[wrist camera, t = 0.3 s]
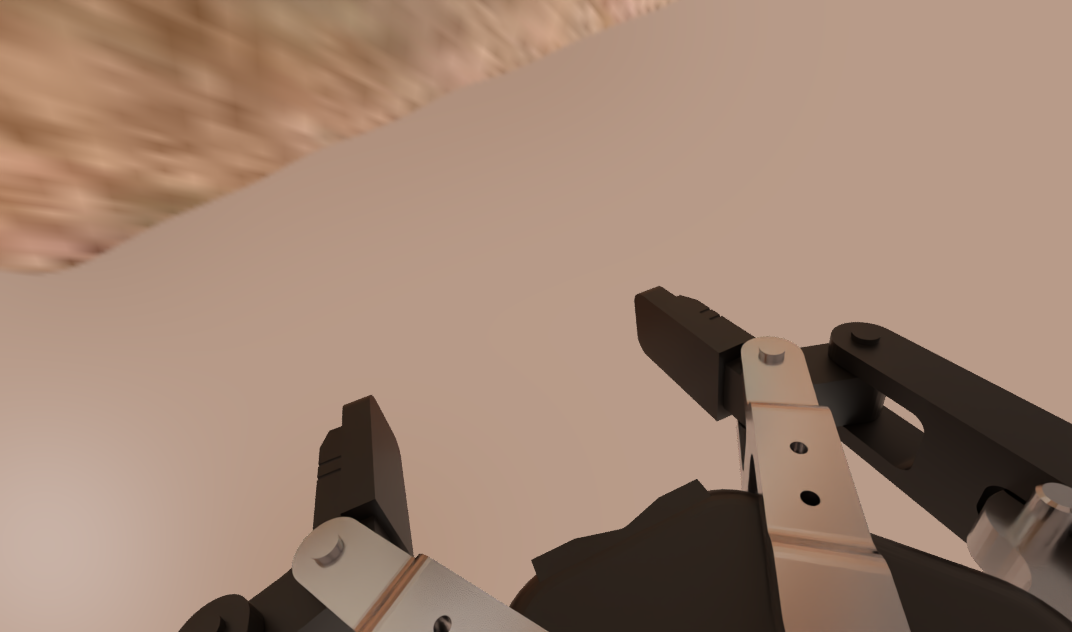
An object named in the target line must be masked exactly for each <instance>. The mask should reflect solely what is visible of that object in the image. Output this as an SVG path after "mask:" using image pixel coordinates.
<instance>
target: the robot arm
mask: <svg viewBox="0 0 1072 632" xmlns="http://www.w3.org/2000/svg"><path fill="white" fill-rule="evenodd" d="M634 302H635V313H636V324H637V334H638V340H639V343H640V345H641V347H642V349H643V351H644V352H645V354H646V355H647V356H648V357H649V358H650V359H651V360H652V361H654V362H655V363H656V364H657V365H658V366H659V367H660V368H661V369H662V370H663V371H664V372H665V373H666V374H667V375H668V376H670V377H671V378H672V379H673V380H674V381H675V382H676V383H677V384H678V385H679V386H680V387H681V388H682V389H683V390H684V391H685V392H686V393H688V394H689V395H690V396H691V397H692V398H693V399H694V400H695V401H696V402H697V403H698V404H699V405H700V406H701V407H702V408H703V409H705V410H706V411H707V412H708V413H709V414H710V415H711V416H712V417H713V418H714V419H715V420H716V421H719V420H721V419H723V418H726V417H728V416H730V415H733V416H734V417H735V418H736V419H737V439H738V450H739V461H740V472H741V485H742V491H740V490H727V489H721V490H710V491H707V490H706V489H705V488H704V487H703V485H702V484H701V483H700V482H699V481H698V480H697V479H696V480H694V481H692V482H690V483H688V484H686V485H684V486H682V487H680V488H677V489H676V490H673V491H671V492H669V493H667V494H665V495H663V496H661V497H659V498H658V499H657V500H656V501H654V502H653V503H652V504H651V505H650V506H649V507H648V508H647V509H645V510H644V511H643V512H642V513H641V514H640V515H639V516H638V517H636V518H635V519H634V520H633V521H632V522H631V523H630V524H629V525H627V526H626V527H624V528H622V529H619V530H615V531H610V532H605V533H600V534H596V535H591V536H586V537H581V538H576V539H574V540H571V541H569V542H567V543H565V544H563V545H561V546H559V547H557V548H555V549H553V550H551V551H549V552H547V553H545V554H543V555H541V556H538V557H536V558H534V559H533V560H531V561H532V564H533V566H534V569H535V571H536V575H535V576H534V577H533V578H532V579H531V580H530V581H528V583H527V584H526V585H525V586H524V587H523V588H522V589H521V590H520V591H519V593H518V594H517V595H516V597H515V598H514V600H513V601H512V603H511V604H510V606H509V607H508V606H507V605H505V604H504V603H502V602H500V601H499V600H497V599H496V598H494V597H492V596H491V595H489V594H488V593H486V592H484V591H483V590H481V589H480V588H478V587H476V586H475V585H473V584H472V583H470V582H468V581H467V580H465V579H464V578H462V577H461V576H459V575H457V574H456V573H454V572H453V571H451V570H449V569H448V568H446V567H445V566H443V565H441V564H440V563H438V562H437V561H435V560H433V559H432V558H430V557H428V556H426V555H424V554H419V555H418V556H417V557H416V558H414V555H413V548H412V540H411V532H410V524H409V516H408V509H407V501H406V493H405V486H404V478H403V471H402V462H401V455H400V450H399V447H398V444H397V441H396V438H395V436H394V434H393V432H392V430H391V428H390V426H389V424H388V423H387V421H386V419H385V417H384V415H383V413H382V411H381V410H380V407H379V405H378V404H377V402H376V400H375V398H374V397H373V396H372V395H369V396H367V397H364V398H362V399H359V400H356V401H354V402H351V403H348V404H346V405H344V406H343V411H342V414H343V415H342V426H341V427H338V428H336V429H333V430H331V431H329V432H328V434H327V436H326V438H325V440H324V441H323V444H322V445H321V447H320V452H319V467H318V475H317V478H318V481H317V487H316V499H315V511H314V522H313V531H312V532H311V533H310V534H309V535H308V536H307V537H306V538H305V539H304V540H303V542H302V543H301V544H300V546H299V547H298V549H297V551H296V553H295V556H294V559H293V563H292V568H291V569H290V570H289V571H288V572H287V573H285V574H284V575H283V576H282V577H281V578H279V579H278V580H277V581H275V582H274V583H272V584H271V585H270V586H269V587H267V588H266V589H264V590H263V591H262V592H261V593H259V594H258V595H256V596H255V597H253V598H252V599H251V600H249V601H247V600H246V599H245V598H244V597H243V596H241V595H237V594H232V595H226V596H222V597H220V598H217V599H215V600H213V601H212V602H210V603H208V604H207V605H205V606H204V607H202V608H201V609H200V610H199V611H197V612H196V613H195V614H194V615H193V616H192V617H191V618H190V619H189V620H188V621H187V622H186V623H185V624H184V626H183V627H182V628H181V629H180V630H179V632H1072V424H1071V423H1069V422H1067V421H1065V420H1063V419H1061V418H1059V417H1057V416H1055V415H1053V414H1051V413H1049V412H1047V411H1045V410H1044V409H1041V408H1040V407H1038V406H1036V405H1034V404H1032V403H1030V402H1028V401H1026V400H1024V399H1022V398H1020V397H1018V396H1016V395H1014V394H1013V393H1011V392H1009V391H1007V390H1005V389H1003V388H1001V387H999V386H997V385H995V384H993V383H991V382H989V381H987V380H985V379H983V378H981V377H980V376H978V375H976V374H974V373H972V372H970V371H968V370H966V369H964V368H962V367H960V366H958V365H956V364H954V363H952V362H950V361H948V360H947V359H945V358H943V357H941V356H939V355H937V354H935V353H933V352H931V351H929V350H927V349H925V348H923V347H921V346H919V345H917V344H915V343H914V342H912V341H910V340H908V339H906V338H904V337H902V336H900V335H898V334H896V333H894V332H892V331H890V330H888V329H886V328H884V327H881V326H878V325H875V324H870V323H863V322H851V323H845V324H841V325H839V326H837V327H835V328H834V329H833V330H832V332H831V336H830V342H829V343H827V344H820V345H814V346H809V347H802V348H800V347H798V346H797V345H796V344H794V343H793V342H791V341H789V340H786V339H783V338H778V337H769V336H766V337H757V338H755V337H754V336H752V335H751V334H749V333H747V332H746V331H744V330H743V329H741V328H740V327H738V326H736V325H735V324H733V323H732V322H730V321H729V320H727V319H726V318H724V317H723V316H721V317H720V315H719V314H718V313H716V312H715V311H713V310H710V309H709V307H707V306H705V305H704V304H703V303H701V302H699V301H698V300H695V299H692V298H689V297H685V296H681V295H679V296H677V297H676V296H674V295H673V294H671V293H670V292H668V291H667V290H665V289H664V288H663V287H660V286H658V287H655V288H652V289H650V290H647V291H645V292H642V293H639V294H637V295H636V296H635V300H634ZM886 396H887V397H889V398H890V399H892V400H893V401H895V402H896V403H898V404H899V405H901V406H903V407H904V408H906V409H907V410H909V411H910V412H912V413H913V414H914V415H916V417H917V418H918V419H919V420H920V421H921V423H922V425H923V428H924V433H923V432H922V431H921V430H919V429H918V428H916V427H915V426H913V425H912V424H910V423H908V422H907V421H906V420H904V419H903V418H901V417H900V416H898V415H897V414H895V413H894V412H892V411H891V410H889V409H888V408H886V407H885V406H883V404H884V400H885V397H886ZM841 441H842V442H843V443H844V444H845V445H847V446H848V447H849V448H850V449H851V450H853V451H854V452H855V453H856V454H858V455H859V456H860V457H861V458H862V459H864V460H865V461H866V462H868V463H869V464H870V465H871V466H872V467H874V468H875V469H876V470H877V471H878V472H880V473H881V474H882V475H883V476H885V477H886V478H887V479H888V480H889V481H891V482H892V483H893V484H894V485H896V486H897V487H898V488H899V489H901V490H902V491H903V492H904V493H905V494H907V495H908V496H909V497H910V498H912V499H913V500H914V501H915V502H917V503H918V504H919V505H920V506H921V507H923V508H924V509H925V510H926V511H928V512H929V513H930V514H931V515H933V516H934V517H935V518H936V519H937V520H939V521H940V522H941V523H942V524H944V525H945V526H946V527H947V528H949V529H950V530H951V531H952V532H954V533H955V534H956V535H957V536H958V537H960V538H961V539H962V540H963V541H965V542H966V543H967V546H968V549H969V552H970V554H971V556H972V557H973V559H974V560H975V562H976V563H977V564H978V565H979V567H980V568H982V570H983V571H982V572H981V571H978V570H975V569H972V568H969V567H966V566H963V565H961V564H958V563H955V562H952V561H949V560H946V559H943V558H940V557H938V556H935V555H932V554H929V553H926V552H923V551H920V550H918V549H915V548H912V547H909V546H906V545H903V544H900V543H897V542H895V541H892V540H889V539H886V538H883V537H880V536H877V535H875V534H872V533H870V532H869V529H868V525H867V522H866V519H865V516H864V513H863V510H862V507H861V504H860V501H859V497H858V494H857V491H856V488H855V485H854V482H853V479H852V476H851V472H850V469H849V466H848V463H847V460H846V457H845V454H844V451H843V447H842V444H841Z"/></svg>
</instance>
